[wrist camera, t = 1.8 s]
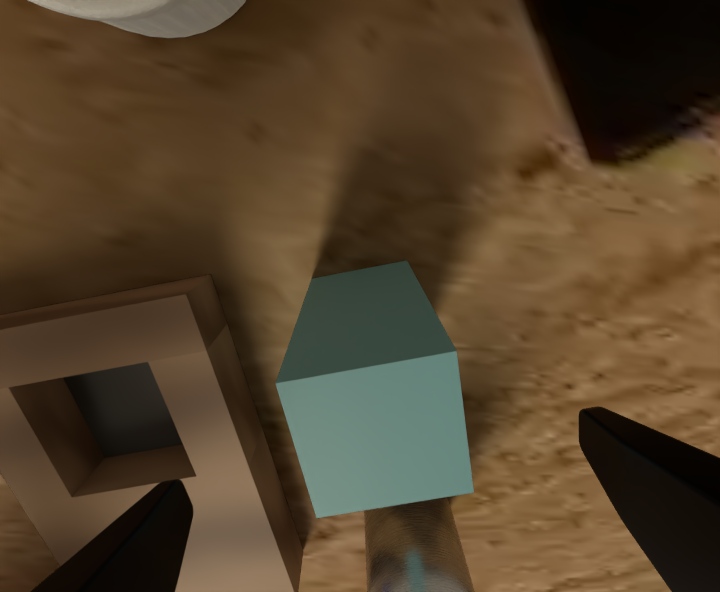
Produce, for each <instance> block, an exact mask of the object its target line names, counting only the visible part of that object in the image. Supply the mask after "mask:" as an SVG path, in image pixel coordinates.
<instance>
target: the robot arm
mask: <svg viewBox="0 0 720 592" xmlns="http://www.w3.org/2000/svg"><path fill="white" fill-rule="evenodd" d="M579 443H580V447H581V449H582V451H583V453H584V455H585V457H586V459H587V460H588V462H589V464H590V466H591V467H592V469H593V471H594V473H595V474H596V476H597V478H598V480H599V481H600V483H601V485H602V487H603V489H604V490H605V492H606V494H607V496H608V497H609V499H610V501H611V503H612V504H613V506H614V508H615V510H616V511H617V513H618V515H619V516H620V518H621V520H622V521H623V523H624V524H625V526H626V527H627V528H628V530H629V531H630V533H631V534H632V536H633V537H634V539H635V540H636V541H637V543H638V544H639V546H640V547H641V549H642V550H643V551H644V553H645V554H646V556H647V557H648V559H649V560H650V561H651V563H652V564H653V566H654V567H655V569H656V570H657V571H658V573H659V574H660V576H661V577H662V578H663V580H664V581H665V583H666V584H667V586H668V587H669V588H670V590H671V591H672V592H720V458H719V457H717V456H714V455H712V454H710V453H707V452H705V451H703V450H700V449H698V448H696V447H693V446H691V445H689V444H687V443H684V442H682V441H680V440H677V439H675V438H673V437H670V436H668V435H666V434H663V433H661V432H659V431H656V430H654V429H652V428H649V427H647V426H645V425H642V424H640V423H638V422H635V421H633V420H631V419H628V418H626V417H624V416H622V415H619V414H617V413H615V412H612V411H610V410H608V409H605V408H603V407H591V408H586V409H582V410H581V411H580V412H579ZM193 512H194V511H193V505H192V502H191V500H190V498H189V495H188V493H187V491H186V488H185V486H184V484H183V482H182V481H181V480H180V479H172V480H167V481H162V482H160V483H159V484H157V485H156V486H155V487H154V488H153V489H151V490H150V491H149V492H148V493H147V494H146V495H144V496H143V497H142V498H141V499H140V500H138V501H137V502H136V503H135V504H134V505H133V506H131V507H130V508H129V509H128V510H127V511H125V512H124V513H123V514H122V515H121V516H119V517H118V518H117V519H116V520H115V521H114V522H112V523H111V524H110V525H109V526H108V527H106V528H105V529H104V530H103V531H102V532H100V533H99V534H98V535H97V536H96V537H95V538H93V539H92V540H91V541H90V542H89V543H87V544H86V545H85V546H84V547H83V548H82V549H80V550H79V551H78V552H77V553H76V554H74V555H73V556H72V557H71V558H70V559H68V560H67V561H66V562H65V563H64V564H63V565H61V566H60V567H59V568H58V569H57V570H55V571H54V572H53V573H52V574H51V575H49V576H48V577H47V578H46V579H45V580H44V581H42V582H41V583H40V584H39V585H38V586H36V587H35V588H34V589H33V590H32V591H31V592H175V590H176V587H177V583H178V579H179V575H180V571H181V566H182V562H183V558H184V554H185V549H186V545H187V541H188V537H189V532H190V528H191V524H192V519H193Z"/></svg>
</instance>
